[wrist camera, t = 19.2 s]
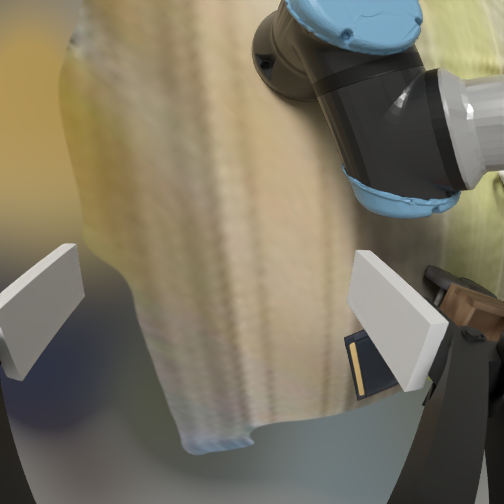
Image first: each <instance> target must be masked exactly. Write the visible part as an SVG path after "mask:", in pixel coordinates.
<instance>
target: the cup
mask: <svg viewBox="0 0 504 504" xmlns="http://www.w3.org/2000/svg"><path fill="white" fill-rule="evenodd" d="M497 174H498V175H499V176H500V179H501V181H502V182H503V184H504V171H497Z"/></svg>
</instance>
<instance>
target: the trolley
mask: <svg viewBox="0 0 504 504" xmlns="http://www.w3.org/2000/svg"><path fill="white" fill-rule="evenodd" d="M425 276H426V277H427V278H428V279H430V280H431V281H432V282H434V283H435V284H437V285H438V286H440V287H441V288H440V290H439V292H438V294H437V296H436V298H435V300H434V302H433V303H434V304H435V305H436V306H437V308H438V306H439V304H440V302H441V300H442V298H443V296H444V294H445V292H446V290H447V293H446V295H445V297H444V299H443V301H442V303H441V305H440V307H439V309H440V310H441V311H442V313H445V314H446V315H447V316H448V317H449V318H450V319H451V320H452V321H453V322H454V323H455V324H456V325H457V326H458V327H459V326H469V327H473V328H476V329H478V330H479V331H481V332H482V333H483V334H484V335H485V336H486V337H487V340H488V341H499V339H500V336H501V334H502V332H503V330H504V301H501V300H498V299H497V297H496V296H495V295H494V294H493V293H491V292H490V291H488V290H487V289H485V288H484V287H482V286H480V285H479V284H477V283H475V282H473V281H471V280H469V279H466V278H461V280H460V279H459V278H457V277H455V276H454V275H452V274H450V273H448V272H446V271H444V270H442V269H440V268H437V267H435V266H431V265H429V266H428V268H427V270H426V273H425Z"/></svg>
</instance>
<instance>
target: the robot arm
mask: <svg viewBox="0 0 504 504" xmlns="http://www.w3.org/2000/svg"><path fill="white" fill-rule="evenodd" d="M422 22H423V15H422V10H421V7H420V4H419V2H418V0H281V2H280V5H279V8H278V10H277V11H275V12H273V13H271V14H270V15H269V16H267V17H266V18H265V19H264V20H263V21H262V23H261V24H260V25H259V27H258V29H257V30H256V33H255V36H254V39H253V43H252V58H253V62H254V65H255V68H256V70H257V72H258V74H259V75H260V77H261V78H262V79H263V81H264V82H265V83H266V84H267V85H268V86H269V87H270V88H272V89H273V90H274V91H276V92H277V93H279V94H281V95H283V96H285V97H288V98H290V99H294V100H298V101H318V102H319V104H320V107H321V109H322V111H323V114H324V116H325V119H326V121H327V123H328V126H329V128H330V131H331V134H332V136H333V139H334V141H335V144H336V147H337V149H338V152H339V155H340V157H341V160H342V163H343V164H342V168H343V171H344V174H345V175H346V176H347V178H348V179H349V181H350V184H351V187H352V189H353V192H354V194H355V197H356V198H357V200H358V201H359V202H360V203H361V204H362V205H363V206H364V207H365V208H366V209H368V210H369V211H371V212H374V213H376V214H379V215H382V216H386V217H392V218H404V219H407V218H409V219H411V218H422V217H428V216H431V214H432V213H442V212H445V211H447V210H449V209H450V208H452V207H453V206H454V205H455V204H456V203H457V202H458V200H459V197H460V194H461V191H464V190H473V189H474V188H475V186H476V185H477V184H478V182H479V181H480V179H481V178H482V177H483V175H484V174H486V173H487V172H491V171H504V74H499V75H492V76H486V77H479V78H473V79H468V80H467V79H461V78H460V77H458V76H456V75H455V74H453V73H452V72H450V71H448V70H447V69H445V68H438V69H433V70H429V71H426V70H425V68H424V65H423V63H422V60H421V58H420V55H419V53H418V50H417V48H416V46H415V41H416V40H417V39H418V36H419V35H420V32H421V28H420V25H421V23H422ZM84 296H85V295H84V290H83V284H82V278H81V271H80V265H79V258H78V250H77V244H62V245H61V246H60V247H58V248H57V249H56V250H54V251H53V252H52V253H50V254H49V255H48V256H47V257H45V258H44V259H42V260H41V261H40V262H38V263H37V264H36V265H35V266H33V267H32V268H31V269H29V270H28V271H27V272H26V273H25V274H23V275H22V276H21V277H19V278H18V279H17V280H16V281H15V282H13V283H12V284H11V285H10V286H8V287H7V288H6V289H5V290H4V291H3V292H1V293H0V365H2V367H3V369H4V371H5V373H6V376H7V377H9V378H13V379H16V380H20V381H23V379H24V378H25V376H26V375H27V373H28V372H29V370H30V369H31V367H32V366H33V364H34V363H35V361H36V360H37V359H38V357H39V356H40V354H41V353H42V352H43V350H44V349H45V347H46V346H47V345H48V343H49V342H50V341H51V339H52V338H53V337H54V335H55V334H56V333H57V331H58V330H59V329H60V327H61V326H62V324H63V323H64V322H65V321H66V319H67V318H68V316H69V315H70V314H71V313H72V312H73V310H74V309H75V308H76V307H77V305H78V304H79V303H80V301H81V300H82V299H83V298H84ZM347 304H348V305H349V306H350V308H351V309H352V311H353V312H354V314H355V315H356V317H357V318H358V320H359V321H360V323H361V325H362V326H363V328H364V329H365V331H366V332H367V334H368V335H369V337H370V338H371V340H372V341H373V343H374V344H375V346H376V348H377V349H378V351H379V352H380V354H381V355H382V357H383V358H384V360H385V362H386V363H387V365H388V366H389V368H390V369H391V371H392V373H393V374H394V376H395V377H396V379H397V381H398V382H399V384H400V386H401V387H402V389H403V390H404V392H408V391H412V390H418V389H422V388H423V385H424V383H425V381H426V379H427V377H428V375H429V377H430V378H431V379H432V381H433V384H432V386H431V388H430V390H429V392H428V394H427V396H426V398H425V400H424V402H423V404H422V405H423V406H425V407H424V410H423V414H422V417H421V420H420V423H419V426H418V429H417V432H416V435H415V437H414V440H413V443H412V446H411V448H410V451H409V454H408V456H407V459H406V461H405V464H404V467H403V469H402V471H401V474H400V476H399V478H398V481H397V483H396V485H395V487H394V490H393V492H392V494H391V496H390V498H389V500H388V502H387V504H474V503H475V499H476V494H477V489H478V485H479V479H480V474H481V468H482V461H483V454H484V449H485V457H486V466H487V474H488V475H487V476H488V488H489V504H504V330H503V332H502V334H501V336H500V339H499V341H488V340H487V337H486V336H485V335H484V334H483V333H482V332H481V331H479V330H478V329H476V328H473V327H469V326H459V327H458V326H457V325H456V324H455V323H454V322H453V321H452V320H451V319H450V318H449V317H448V316H447V315H446V314H445V313H442V311H441V310H440V309H439V308H437V306H436V305H435V304H434V303H433V302H432V301H431V300H429V299H427V298H426V297H424V296H422V295H420V294H419V293H418V292H416V291H415V290H414V289H413V288H412V287H411V286H410V285H409V284H408V283H407V282H406V281H404V280H403V279H402V278H401V277H400V276H399V275H398V274H397V273H396V272H394V271H393V270H392V269H391V268H390V267H389V266H388V265H386V264H385V263H384V262H383V261H382V260H381V259H380V258H378V257H377V256H376V255H375V254H374V253H373V252H371V251H370V250H356V252H355V258H354V264H353V270H352V276H351V281H350V287H349V292H348V298H347ZM0 504H36V502H35V500H34V498H33V495H32V492H31V490H30V487H29V485H28V482H27V479H26V476H25V474H24V471H23V468H22V465H21V462H20V459H19V456H18V453H17V449H16V446H15V443H14V439H13V435H12V432H11V428H10V424H9V420H8V416H7V411H6V407H5V402H4V397H3V392H2V386H1V380H0Z"/></svg>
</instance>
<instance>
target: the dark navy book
mask: <svg viewBox="0 0 504 504" xmlns="http://www.w3.org/2000/svg"><path fill="white" fill-rule="evenodd" d="M344 341H345V346H346V350H347V353H348V357H349V362H350V366H351V371H352V376H353V380H354V385H355V390H356V395H357V400H361V399H363V398H366V397H369V396H372V395H374V394H377V393H379V392H382V391H384V390H386V389H389V388H391V387H393V386H396V385H398V384H399V382H398V381H397V379H396V377H395V376H394V374H393V373H392V371H391V369H390V368H389V366H388V365H387V363H386V362H385V360H384V358H383V357H382V355H381V354H380V352H379V351H378V349H377V348H376V346H375V344H374V343H373V341H372V340H371V338H370V337H369V335H368V334H367V332H366V331H365V329H364V330H361V331H359V332H357V333H354V334H352V335H349V336H347V337H344Z"/></svg>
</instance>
